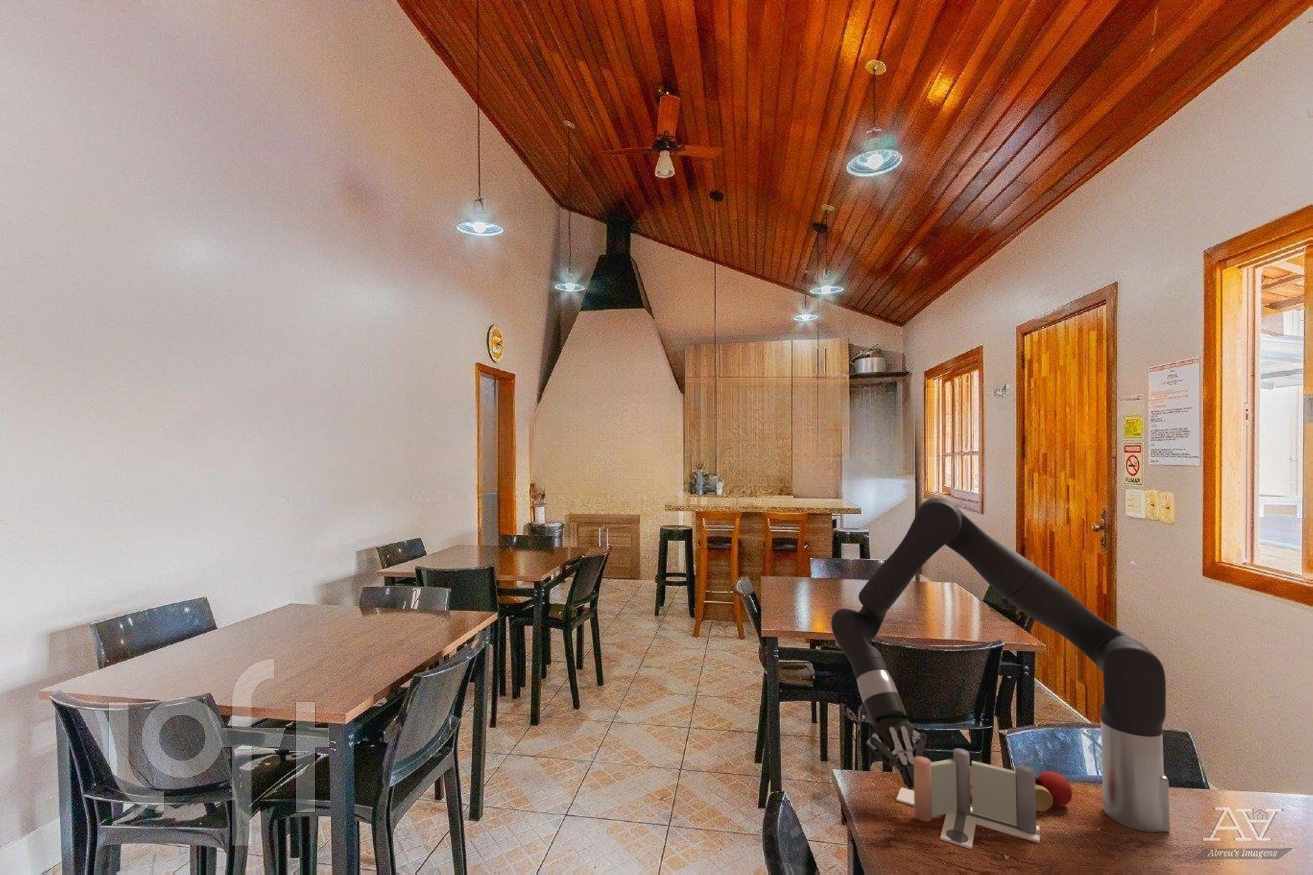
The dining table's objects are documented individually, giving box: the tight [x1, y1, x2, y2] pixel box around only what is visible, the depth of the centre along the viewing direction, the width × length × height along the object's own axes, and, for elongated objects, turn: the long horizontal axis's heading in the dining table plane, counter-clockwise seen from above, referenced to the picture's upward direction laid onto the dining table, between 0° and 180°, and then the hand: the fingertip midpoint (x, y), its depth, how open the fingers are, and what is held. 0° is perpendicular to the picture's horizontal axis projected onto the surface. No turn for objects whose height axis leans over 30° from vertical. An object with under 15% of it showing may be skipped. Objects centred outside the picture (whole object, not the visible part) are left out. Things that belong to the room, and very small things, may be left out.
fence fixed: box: [952, 748, 1037, 832], centre depth 111 cm, size 13×3×11 cm, turn 57°
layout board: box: [895, 787, 1041, 850], centre depth 110 cm, size 24×14×1 cm, turn 57°
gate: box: [913, 756, 957, 822], centre depth 112 cm, size 9×3×10 cm, turn 106°
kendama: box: [1035, 770, 1073, 812], centre depth 118 cm, size 8×6×18 cm
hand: (914, 788), depth 114 cm, fingers closed
